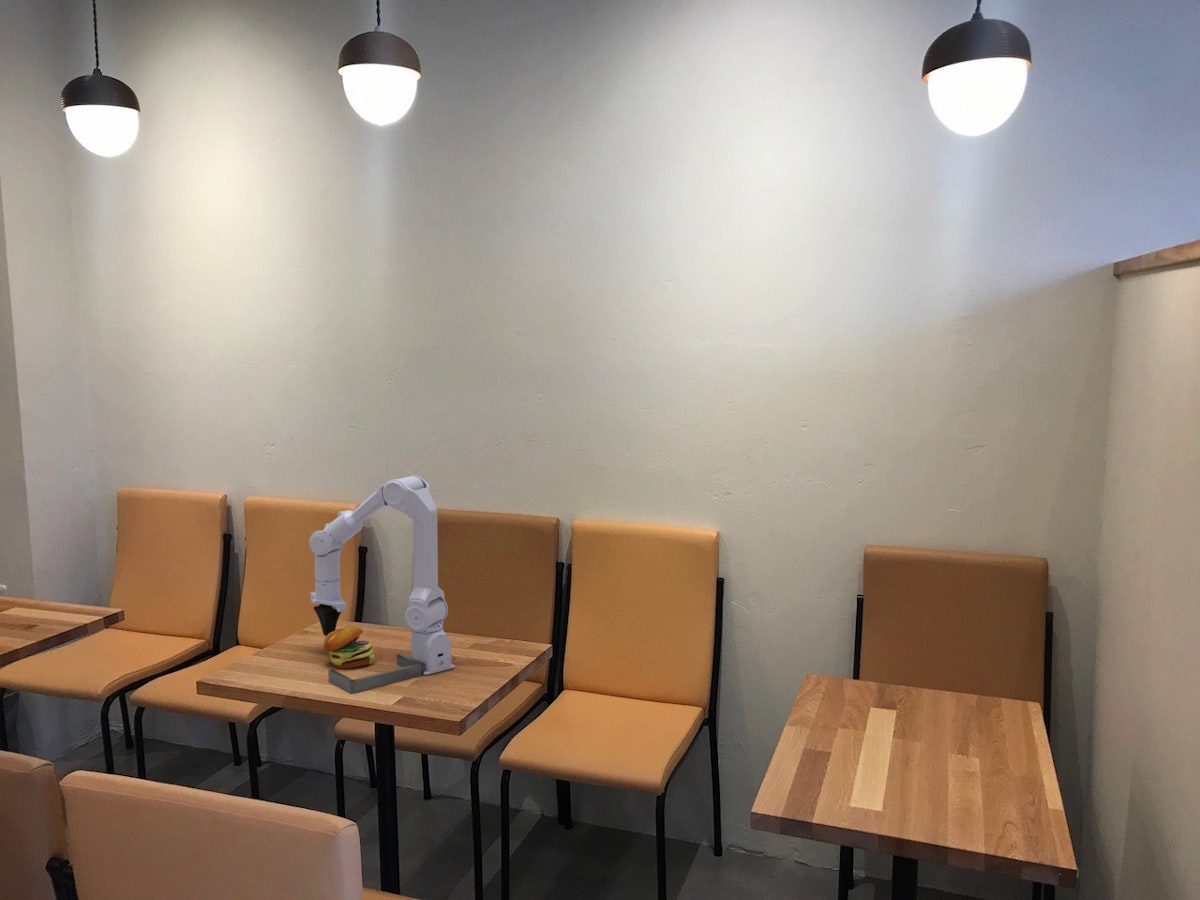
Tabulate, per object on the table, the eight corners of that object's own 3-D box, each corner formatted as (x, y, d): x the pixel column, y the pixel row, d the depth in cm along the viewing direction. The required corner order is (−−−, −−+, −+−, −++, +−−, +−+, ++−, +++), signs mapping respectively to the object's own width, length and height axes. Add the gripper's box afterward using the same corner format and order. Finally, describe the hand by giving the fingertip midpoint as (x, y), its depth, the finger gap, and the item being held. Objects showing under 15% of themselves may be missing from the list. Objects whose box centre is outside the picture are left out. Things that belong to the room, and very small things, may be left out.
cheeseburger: (370, 670, 212) (358, 628, 211) (325, 680, 213) (313, 639, 212) (381, 655, 222) (370, 615, 221) (338, 665, 223) (327, 626, 222)
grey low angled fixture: (425, 674, 210) (424, 663, 209) (351, 693, 198) (351, 682, 197) (400, 663, 217) (400, 652, 217) (328, 681, 205) (328, 669, 205)
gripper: (298, 576, 225) (299, 631, 226) (326, 587, 214) (327, 645, 216) (325, 572, 230) (326, 626, 231) (354, 582, 219) (355, 639, 220)
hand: (328, 635), depth 224 cm, fingers closed
